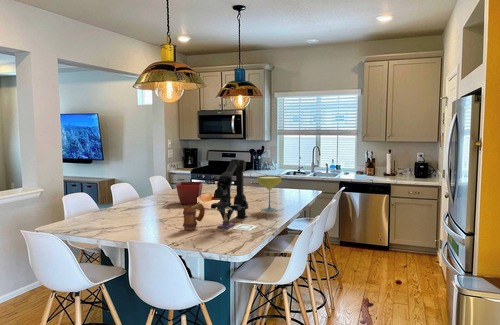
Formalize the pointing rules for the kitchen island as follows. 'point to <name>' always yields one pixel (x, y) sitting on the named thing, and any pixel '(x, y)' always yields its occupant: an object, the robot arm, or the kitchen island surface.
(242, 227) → the sheet
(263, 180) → the cocktail glass
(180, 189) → the plant pot
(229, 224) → the stamp
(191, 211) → the mug
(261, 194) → the kitchen island surface
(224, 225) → the ink pad
